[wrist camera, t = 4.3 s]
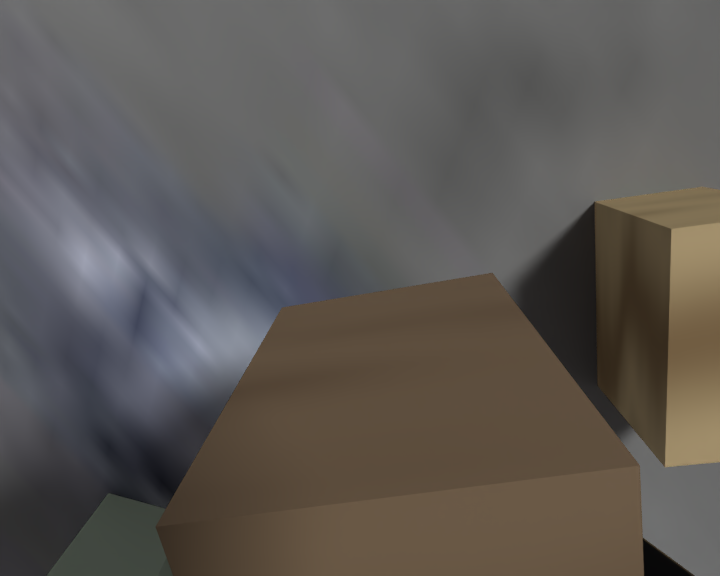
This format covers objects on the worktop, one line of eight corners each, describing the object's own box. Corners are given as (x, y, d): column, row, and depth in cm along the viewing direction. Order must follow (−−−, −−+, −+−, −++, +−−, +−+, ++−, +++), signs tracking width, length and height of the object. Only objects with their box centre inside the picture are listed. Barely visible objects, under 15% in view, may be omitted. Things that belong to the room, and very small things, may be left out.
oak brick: (692, 374, 19) (794, 455, 15) (596, 384, 20) (665, 467, 15) (700, 186, 17) (821, 209, 12) (593, 201, 18) (671, 228, 13)
